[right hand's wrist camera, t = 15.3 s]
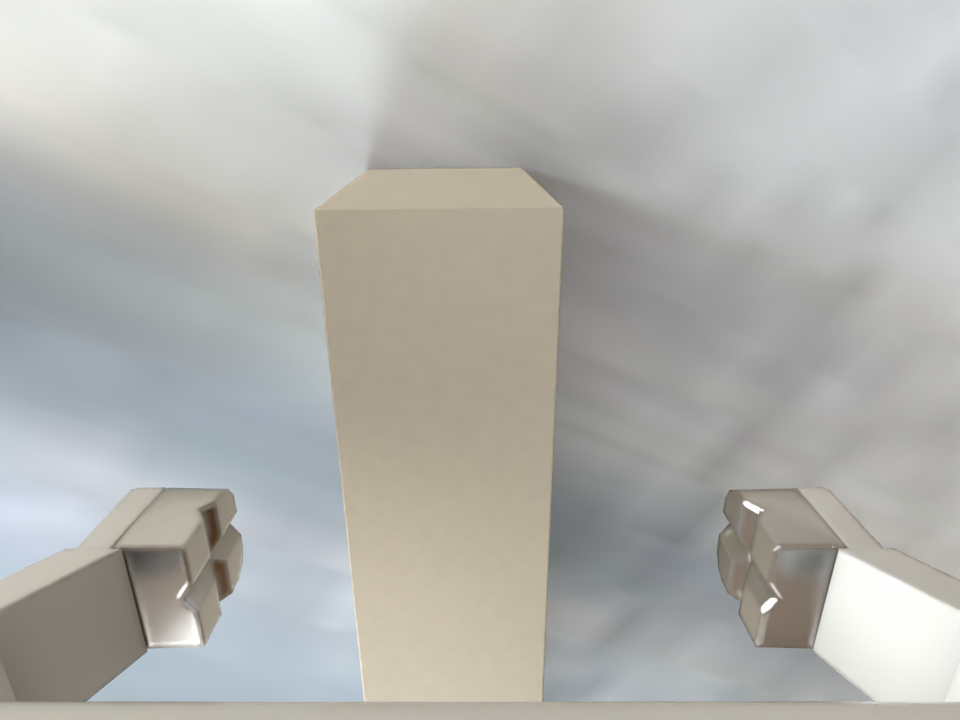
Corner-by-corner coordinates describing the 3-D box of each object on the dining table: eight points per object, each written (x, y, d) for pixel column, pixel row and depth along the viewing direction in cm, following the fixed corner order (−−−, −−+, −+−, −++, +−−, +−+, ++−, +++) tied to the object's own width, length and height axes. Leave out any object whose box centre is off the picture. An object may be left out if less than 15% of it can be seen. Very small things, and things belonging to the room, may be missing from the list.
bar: (367, 168, 20) (312, 210, 12) (522, 167, 20) (564, 207, 13) (409, 766, 31) (394, 990, 23) (511, 761, 31) (530, 983, 23)
